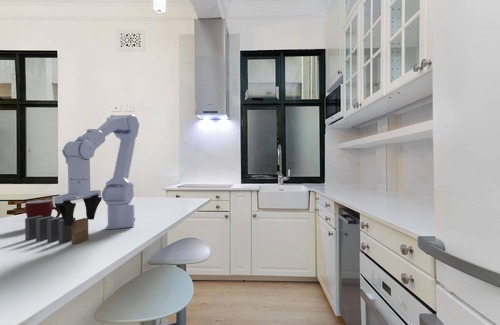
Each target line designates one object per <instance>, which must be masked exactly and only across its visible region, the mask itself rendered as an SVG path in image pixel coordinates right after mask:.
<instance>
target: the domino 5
mask: <svg viewBox="0 0 500 325" xmlns="http://www.w3.org/2000/svg"><path fill="white" fill-rule="evenodd" d="M86 241H89V219H88V218H87V217H84V218H79V219H75V221H73V225H72V240H71V245H78V244H82V243H84V242H86Z"/></svg>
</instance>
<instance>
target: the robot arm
mask: <svg viewBox="0 0 500 325" xmlns="http://www.w3.org/2000/svg"><path fill="white" fill-rule="evenodd" d="M139 128H140V123H139V120H138V118H137V116H136V115H135V114H125V115H124V114H122V115H115V114H111V115H110V116H109V117H106V121H105V122H104V123H102V124H101V125H100V126H99V127H98V128H97V129H96V128H87V129H86V132H85V133H84V134H82V135H79V136H78V137H76V139H75V140H74V141H73V140H70V141H68V142H66V143H65V144H64V146H63V149H61V153H62V155H63V158H65V164H66V165H67V186H68V187H67V188H68V189H67V190H68V192H67V193H66V194H61V195H57V196H55V195H54V196H53V197H54V201H53V204H54V207H56V208H57V209H58V210H59V212H60V216H61V217H62V218H63V220H64V223H65V226H72V225H73V218H74V212H75V208H76V205H77V203H76V202H73V201H79V200H83V202H84V206H85V213H86V218H88V221H89V220H90V221H91V220H95V217H96V216H95V215H96V212H97V209H98V206H99V205H100V203H101V202H102V200H103V202H105V205H107V225H106V226H105V227H104V229H105V230H115V229H116V230H117V229H127V228H134V226H135V222H136V217H135V202H131V201H132V200H133V198H134V194H135V193H134V187H135V186H134V184H133V182H132V181H131V180H129V176H130V171H131V164H132V161H133V156H134V150H135V144H136V138H137V137H138V132H139ZM112 133H113V134H114V136H115V137H116V138H117V139H119V140H120V143H119V147H118V153H117V156H116V161H115V167H114V171H113V175H112V178H110V179H109V180H108V181H107V182H106V183H105V187H104V188H103V190H99V189H97V190H96V189H95V190H91V159H92V158H93V157H94V156H95V152H96V150H97V149H98V148H99V147H101V146H102V145H103V144H104V143H105V141H106V137H107V136H109V135H110V134H112Z"/></svg>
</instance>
